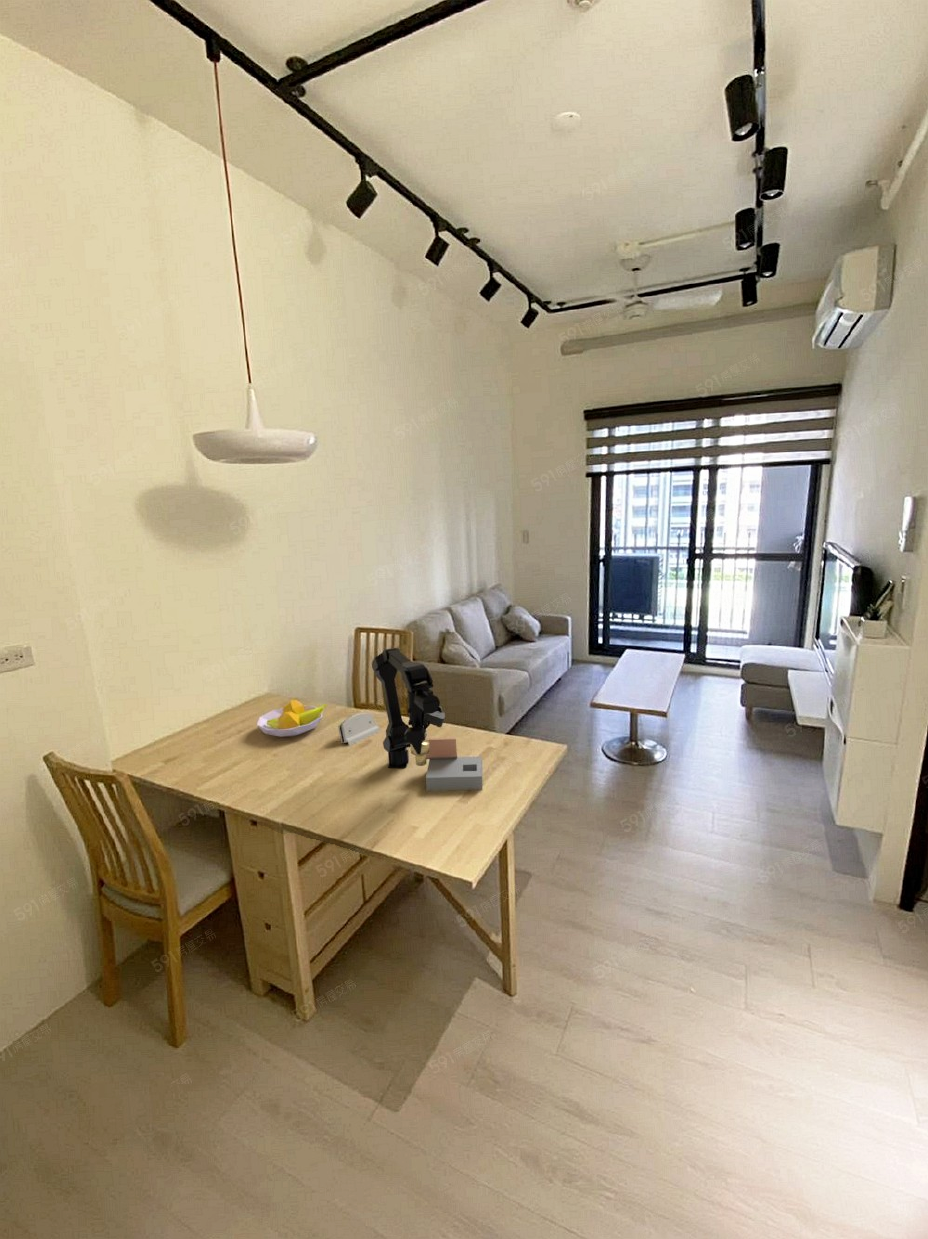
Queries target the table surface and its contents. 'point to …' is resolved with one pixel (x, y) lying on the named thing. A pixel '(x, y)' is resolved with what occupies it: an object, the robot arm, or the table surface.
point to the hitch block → (454, 774)
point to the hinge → (357, 728)
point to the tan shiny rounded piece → (421, 757)
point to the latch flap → (442, 748)
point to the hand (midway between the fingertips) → (420, 749)
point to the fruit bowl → (290, 719)
